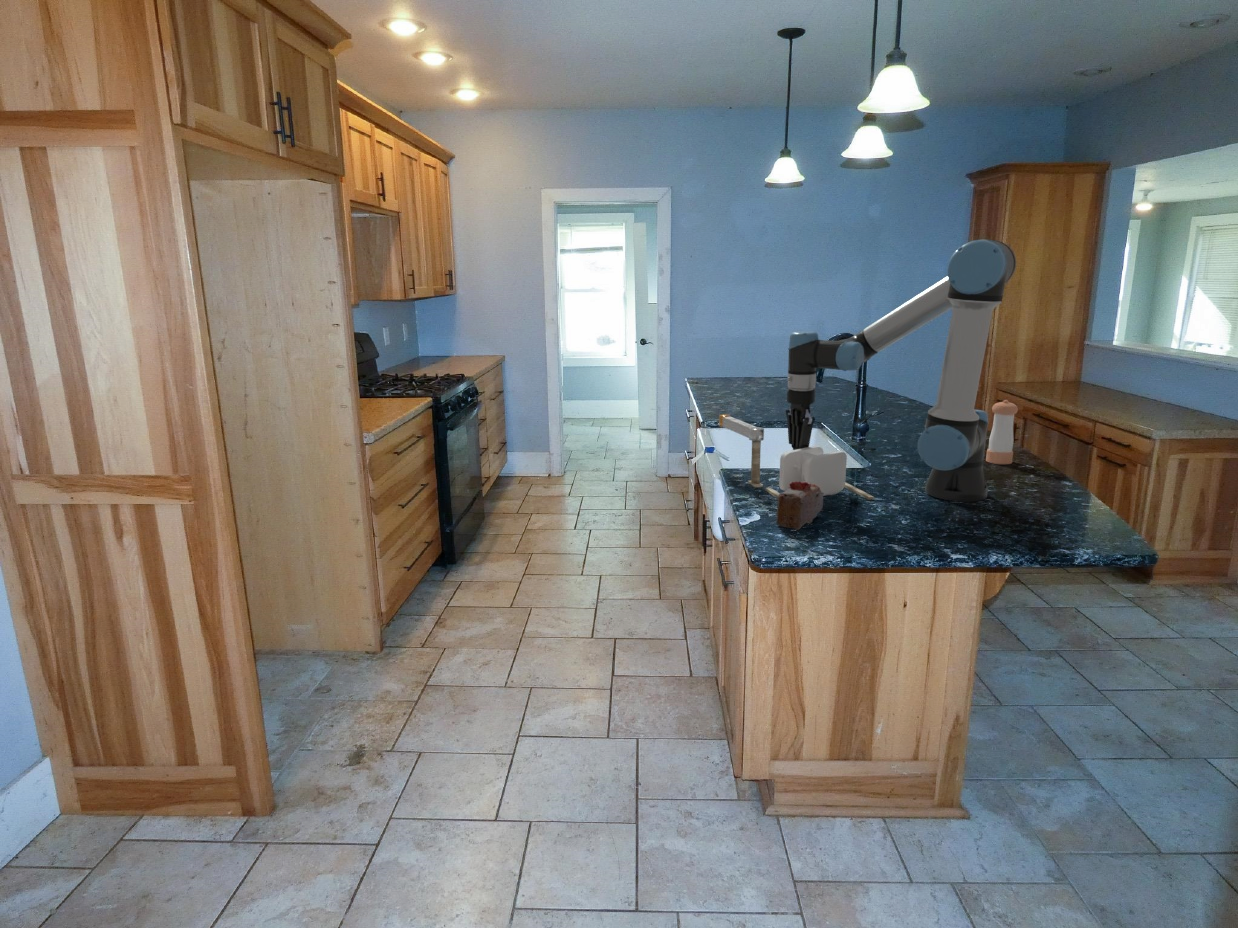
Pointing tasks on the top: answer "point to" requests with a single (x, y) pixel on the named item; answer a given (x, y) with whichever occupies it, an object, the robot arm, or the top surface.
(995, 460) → the pepper shaker
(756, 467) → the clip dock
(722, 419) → the gold knob lever
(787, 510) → the food item
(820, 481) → the cable organizer
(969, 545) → the top surface
